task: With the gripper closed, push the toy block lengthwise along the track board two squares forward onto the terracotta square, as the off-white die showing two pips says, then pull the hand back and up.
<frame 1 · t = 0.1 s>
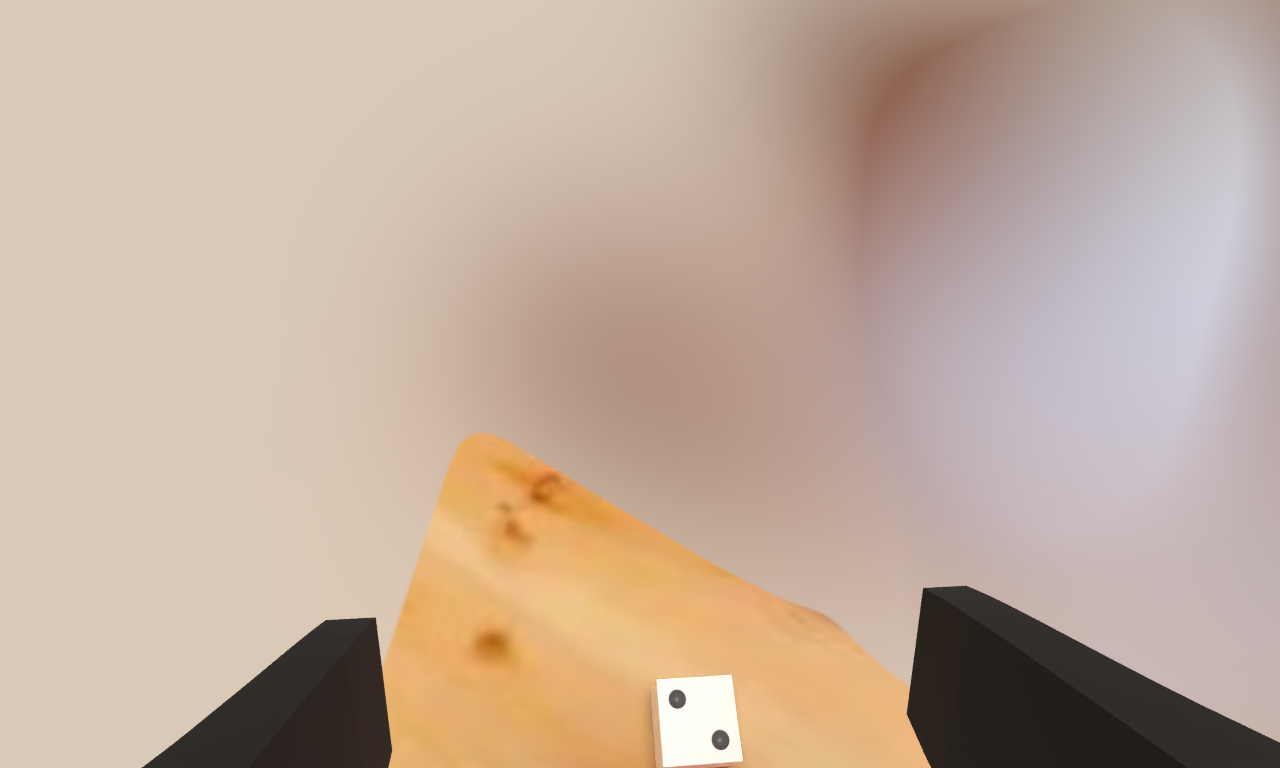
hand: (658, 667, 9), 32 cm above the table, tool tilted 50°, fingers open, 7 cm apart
die: (688, 728, 37), on the table
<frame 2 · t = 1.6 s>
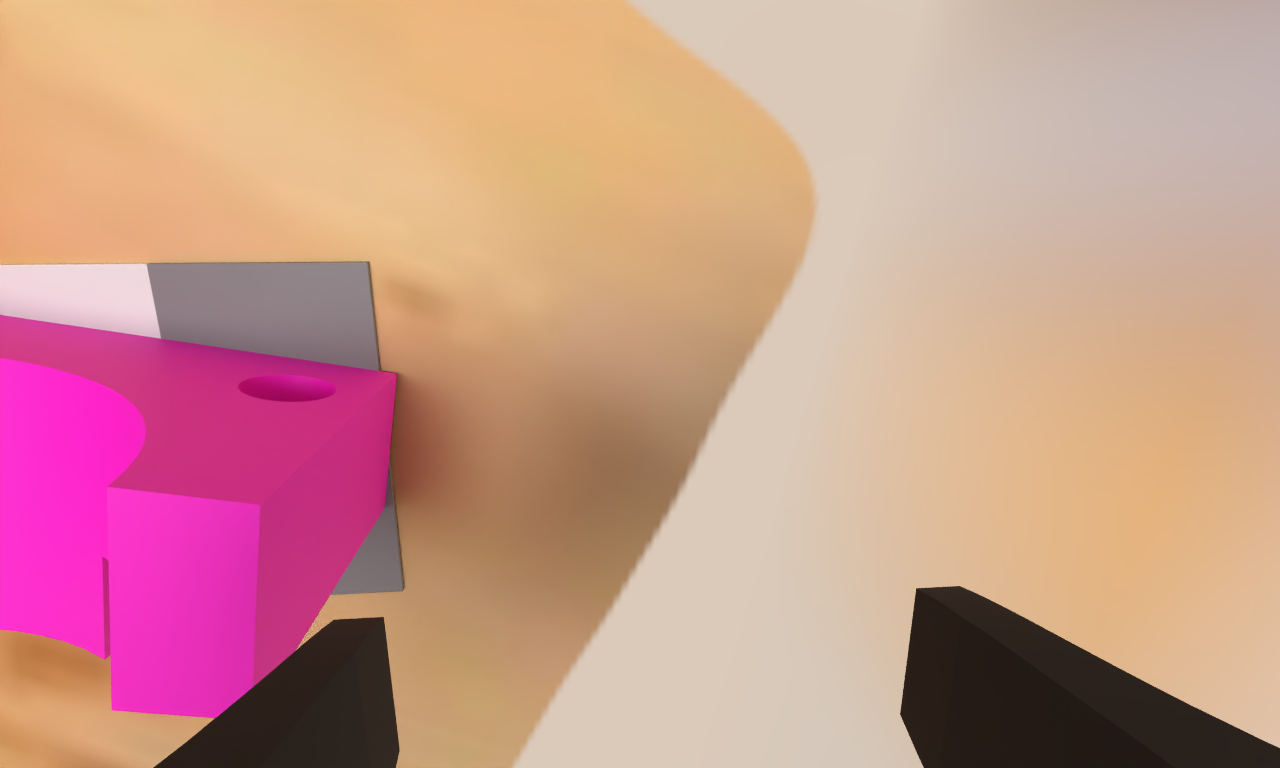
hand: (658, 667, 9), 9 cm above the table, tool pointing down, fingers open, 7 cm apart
toy block: (81, 444, 17), resting on board
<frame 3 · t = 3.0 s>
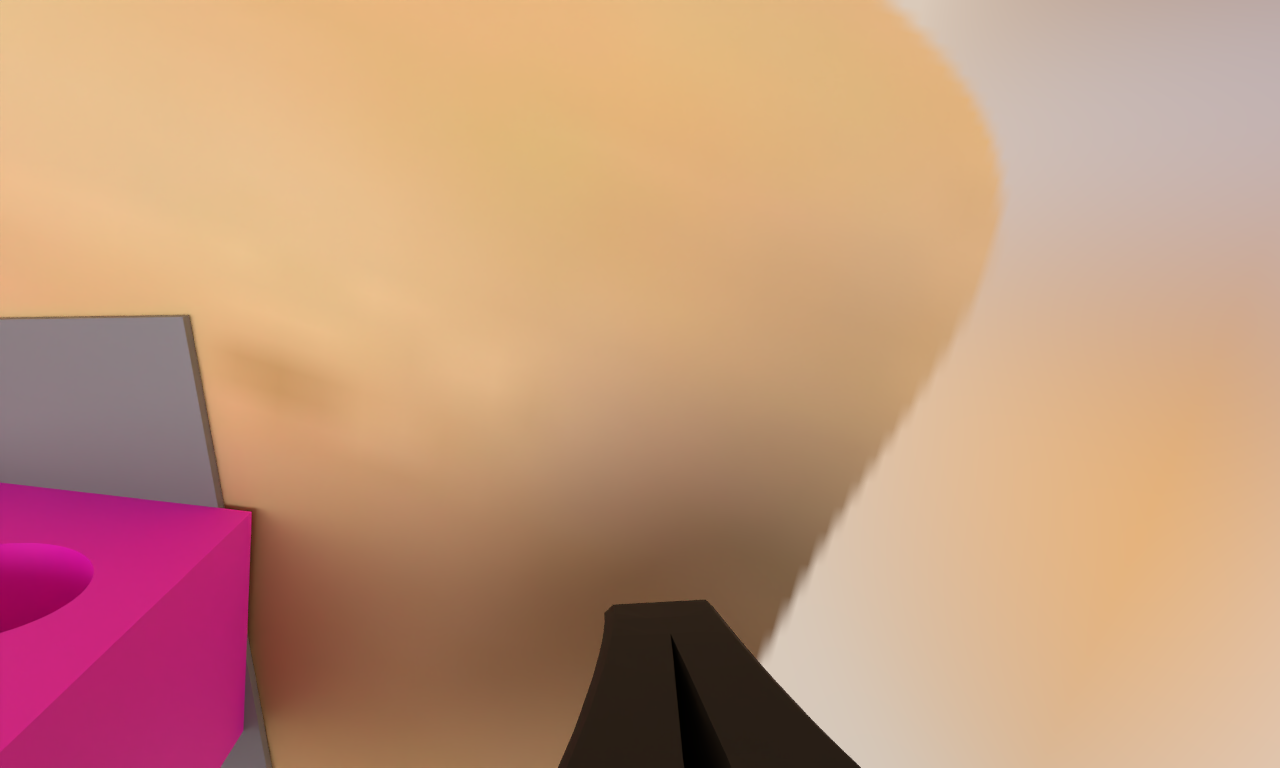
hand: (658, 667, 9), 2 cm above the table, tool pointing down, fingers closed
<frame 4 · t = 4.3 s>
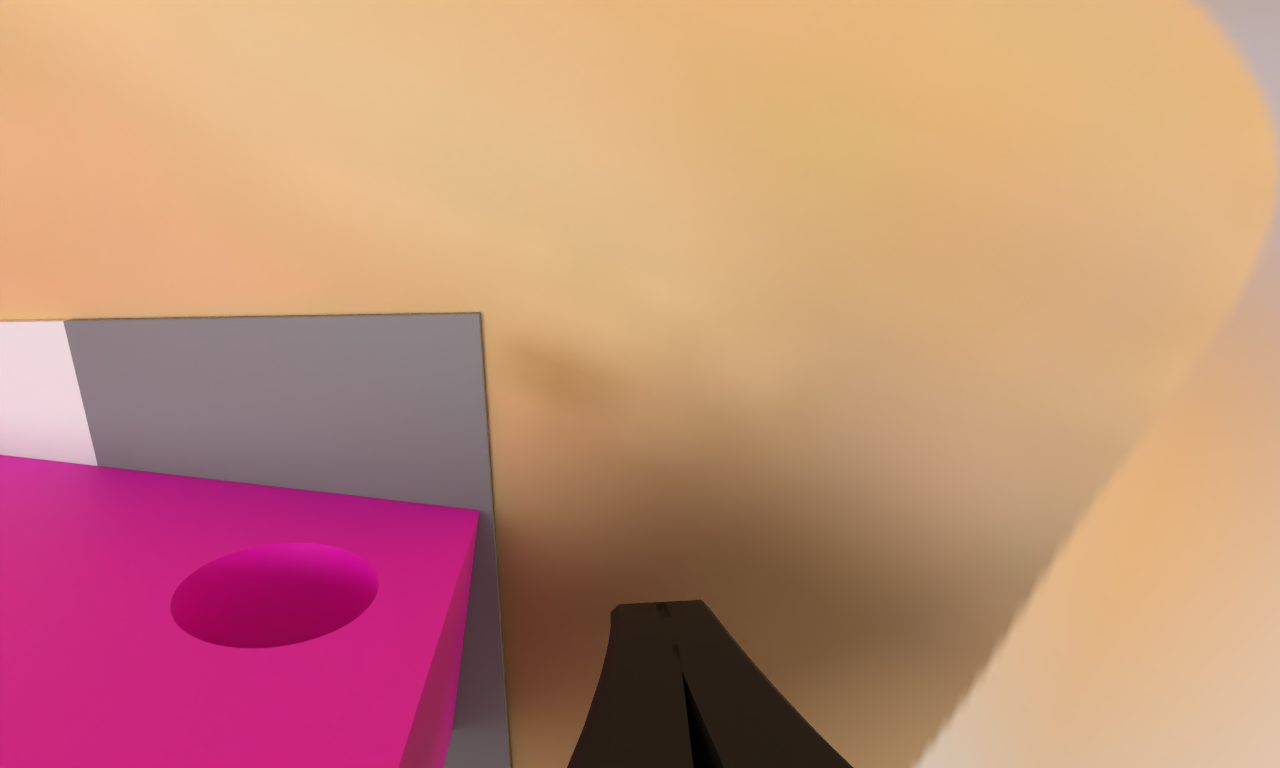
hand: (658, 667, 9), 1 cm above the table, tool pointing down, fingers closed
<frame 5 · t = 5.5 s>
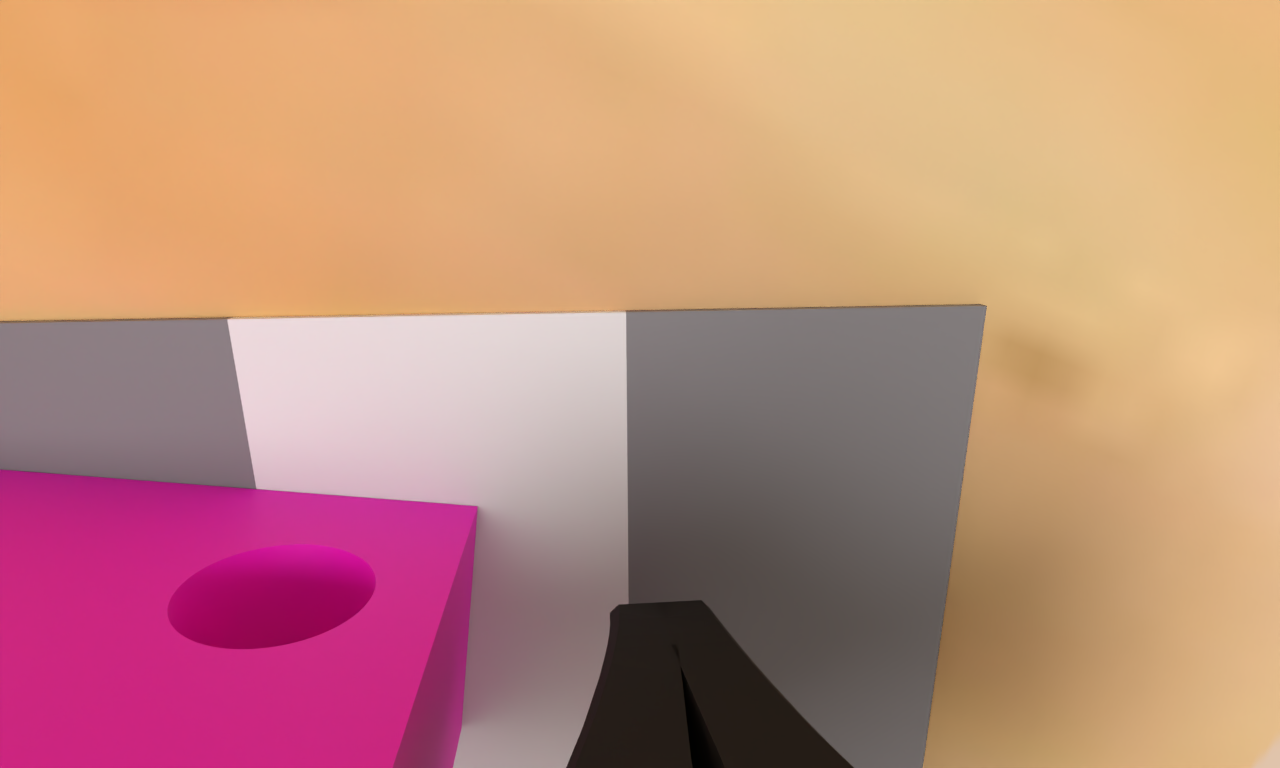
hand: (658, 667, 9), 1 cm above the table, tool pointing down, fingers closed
board: (99, 636, 9), on the table
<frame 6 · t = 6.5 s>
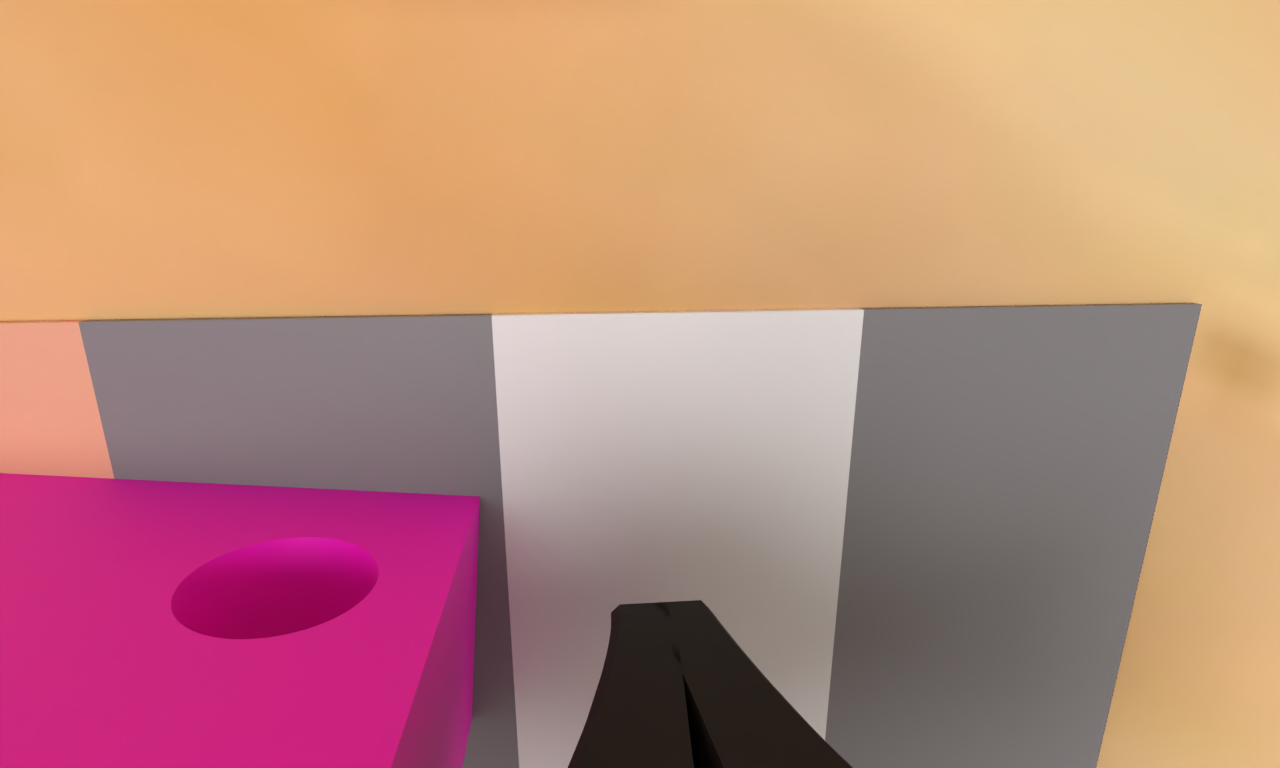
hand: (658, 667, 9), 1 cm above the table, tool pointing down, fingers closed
board: (337, 622, 10), on the table
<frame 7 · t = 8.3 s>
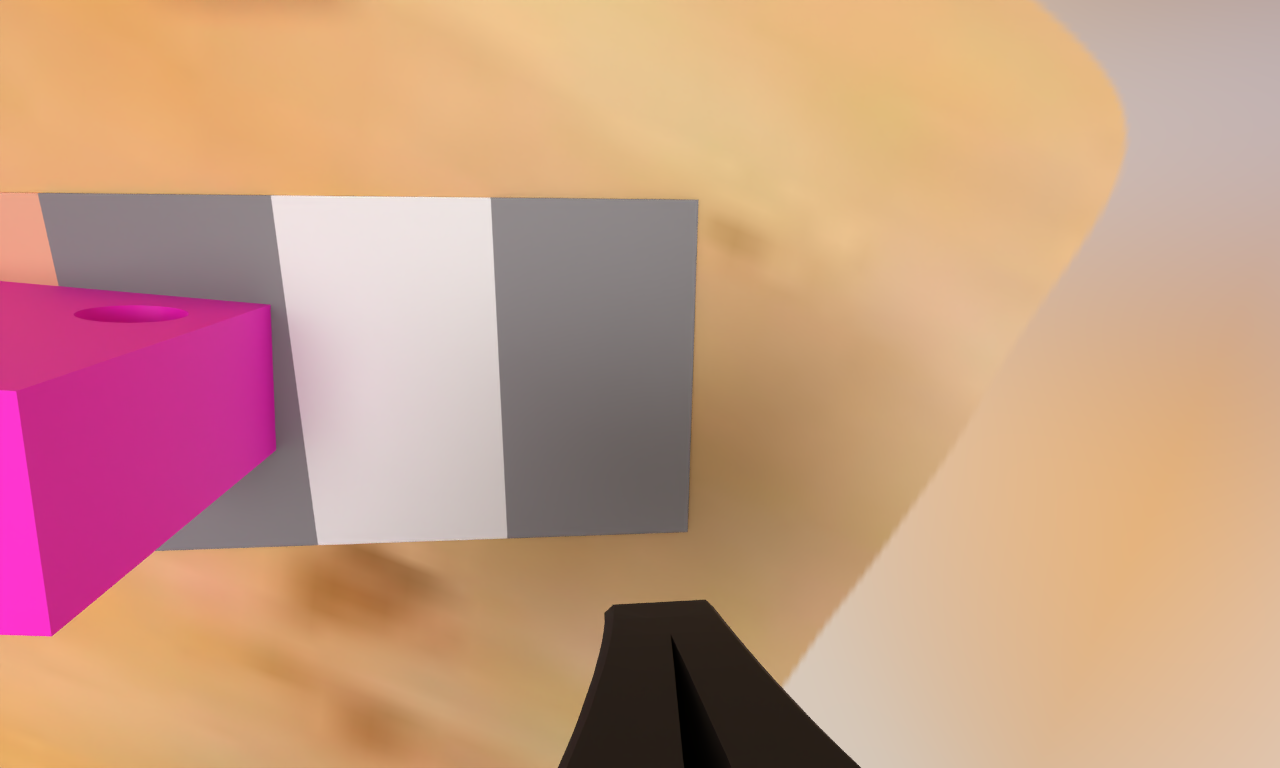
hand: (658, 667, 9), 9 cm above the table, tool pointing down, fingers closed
board: (192, 383, 16), on the table
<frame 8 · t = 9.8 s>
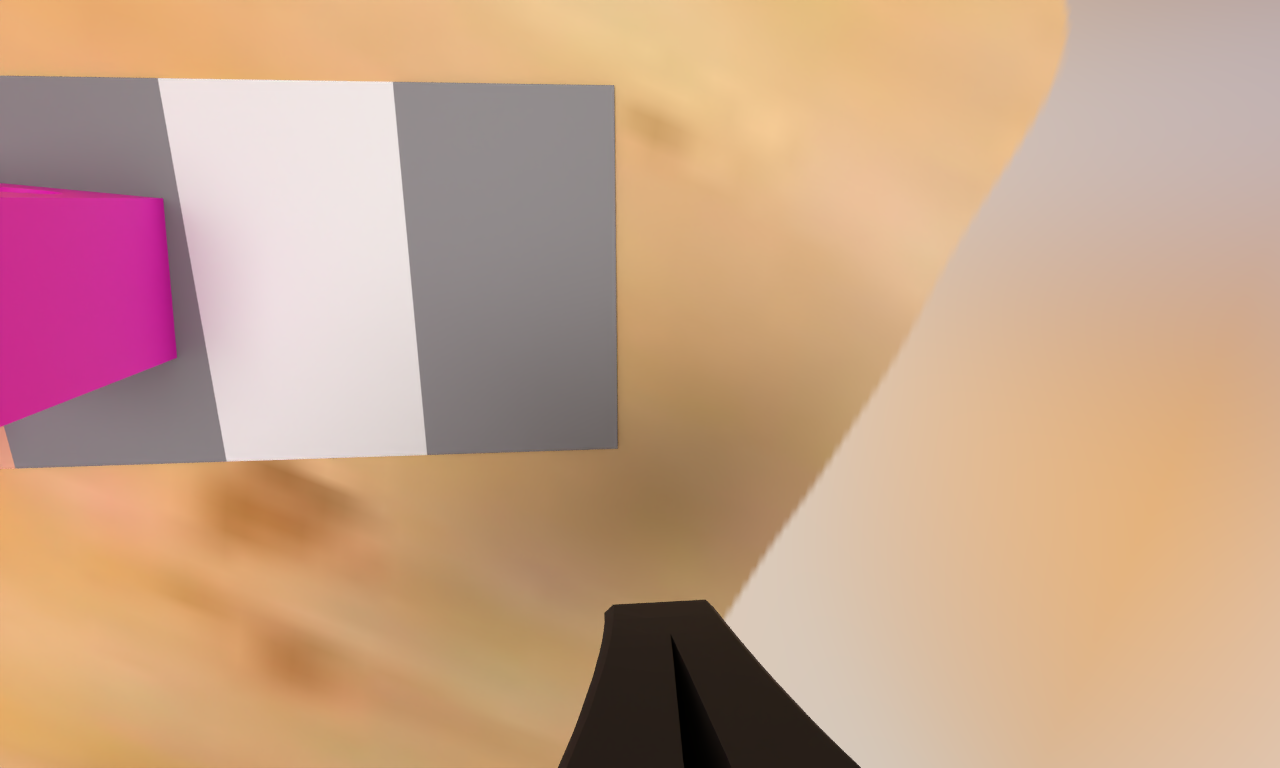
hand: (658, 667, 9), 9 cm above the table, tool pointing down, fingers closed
board: (85, 285, 16), on the table
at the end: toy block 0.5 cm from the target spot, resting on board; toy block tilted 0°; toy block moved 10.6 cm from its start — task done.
